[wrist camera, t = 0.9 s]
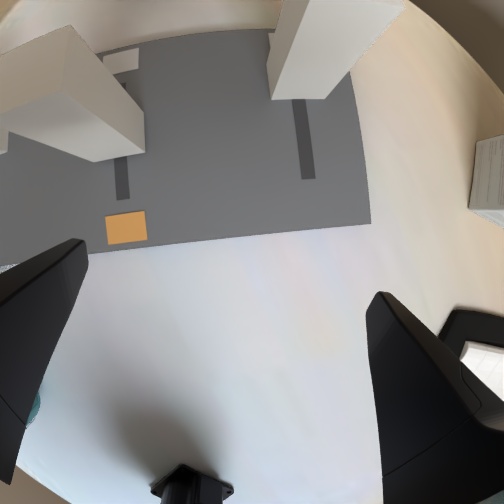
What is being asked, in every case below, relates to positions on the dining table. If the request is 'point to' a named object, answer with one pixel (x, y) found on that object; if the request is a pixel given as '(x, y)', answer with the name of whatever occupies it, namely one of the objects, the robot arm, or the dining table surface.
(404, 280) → the dining table surface
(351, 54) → the three pillar stand
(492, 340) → the light switch
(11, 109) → the block
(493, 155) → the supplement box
